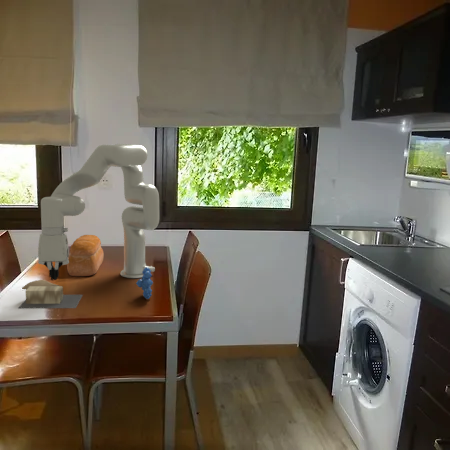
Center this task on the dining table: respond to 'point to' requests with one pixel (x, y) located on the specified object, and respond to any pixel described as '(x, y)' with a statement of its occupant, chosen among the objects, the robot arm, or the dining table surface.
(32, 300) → the birch block
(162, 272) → the dining table surface
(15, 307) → the dining table surface
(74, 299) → the rubber mat
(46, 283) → the clay tablet
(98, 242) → the bread
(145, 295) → the grapes
